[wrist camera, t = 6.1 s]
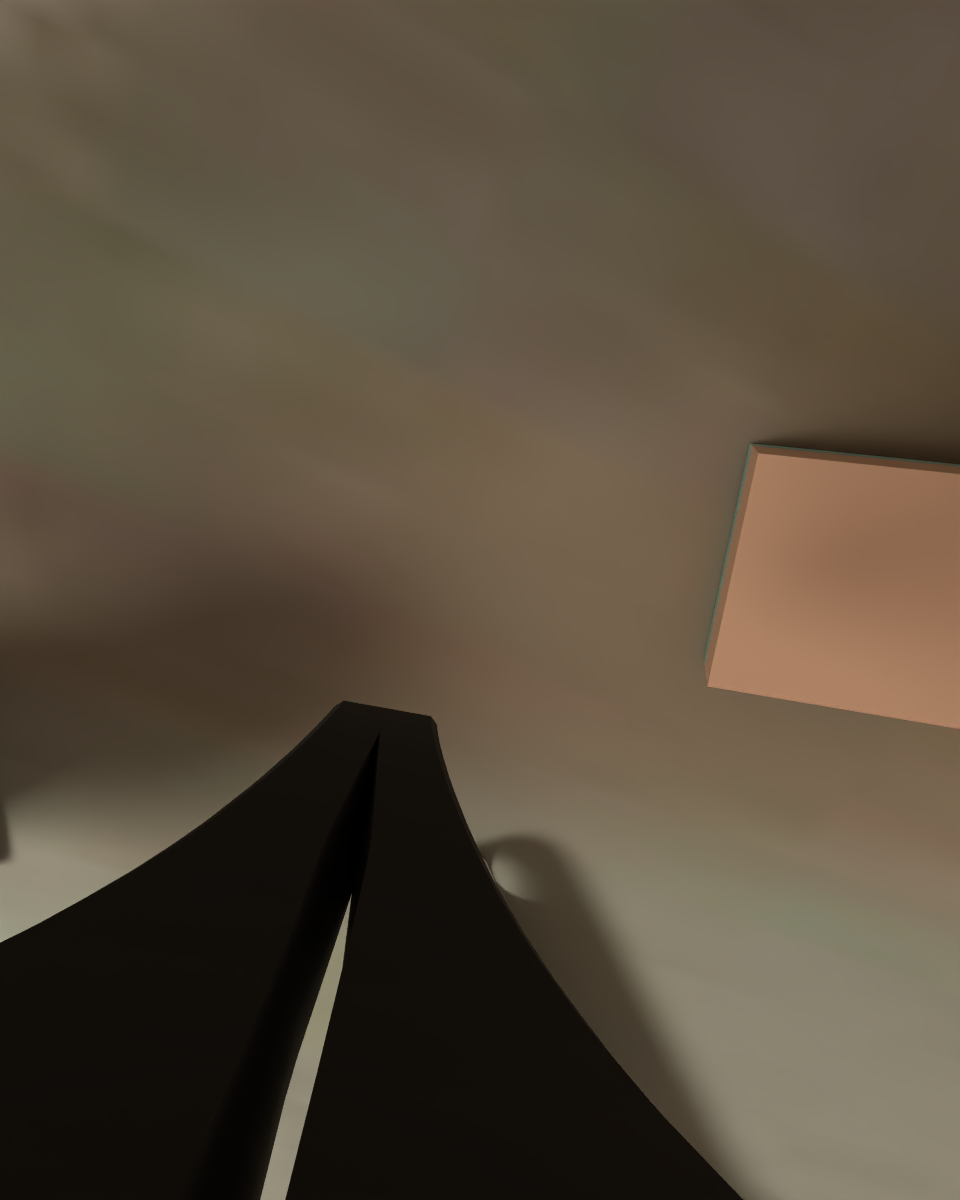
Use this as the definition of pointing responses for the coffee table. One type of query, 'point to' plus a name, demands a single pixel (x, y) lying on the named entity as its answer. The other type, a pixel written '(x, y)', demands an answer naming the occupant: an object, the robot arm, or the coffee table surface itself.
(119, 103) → the coffee table surface
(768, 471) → the tile
